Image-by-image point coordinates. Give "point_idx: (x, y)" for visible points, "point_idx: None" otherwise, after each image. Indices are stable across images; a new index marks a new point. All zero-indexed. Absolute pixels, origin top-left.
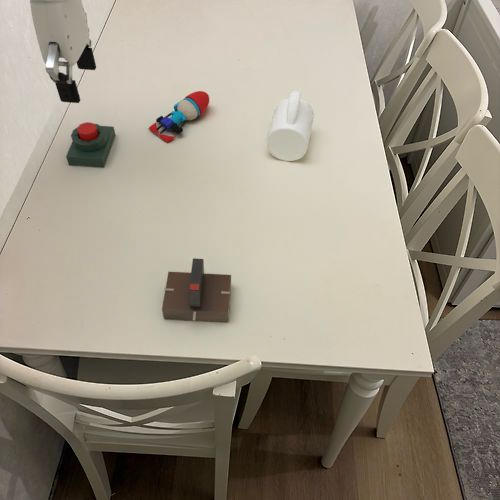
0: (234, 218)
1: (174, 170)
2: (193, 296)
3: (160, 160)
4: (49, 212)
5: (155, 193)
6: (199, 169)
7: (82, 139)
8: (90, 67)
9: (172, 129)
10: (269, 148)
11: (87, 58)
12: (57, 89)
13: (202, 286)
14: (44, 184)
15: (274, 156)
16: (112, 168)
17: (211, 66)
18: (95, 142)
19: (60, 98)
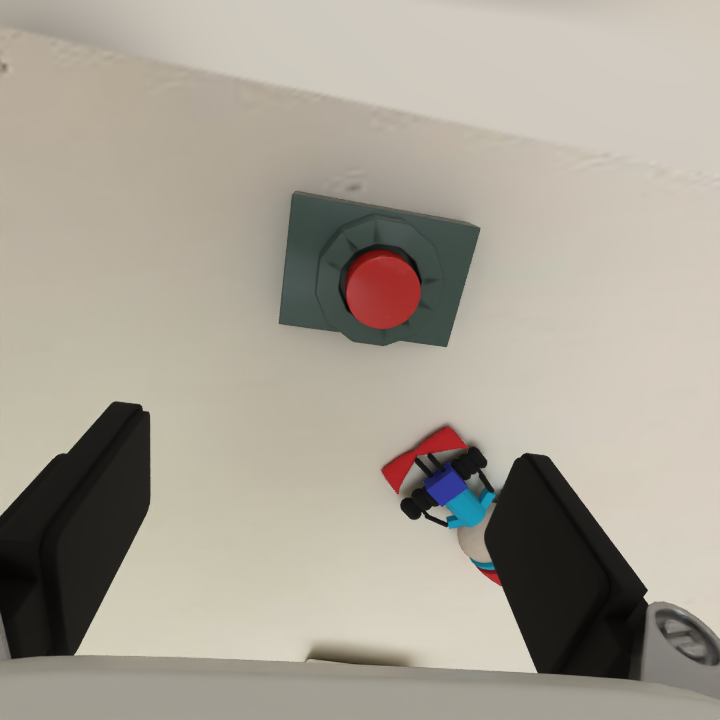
0: (118, 593)
1: (272, 486)
2: None
3: (312, 455)
4: (47, 147)
5: (180, 449)
6: (276, 534)
7: (351, 265)
8: (496, 532)
9: (415, 495)
10: None
11: (524, 588)
12: (63, 462)
13: None
14: (189, 106)
15: (308, 660)
16: (279, 335)
17: (689, 552)
18: (327, 316)
19: (105, 413)
